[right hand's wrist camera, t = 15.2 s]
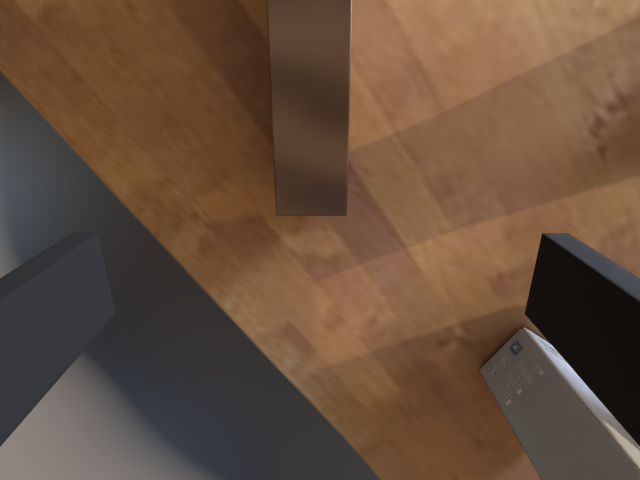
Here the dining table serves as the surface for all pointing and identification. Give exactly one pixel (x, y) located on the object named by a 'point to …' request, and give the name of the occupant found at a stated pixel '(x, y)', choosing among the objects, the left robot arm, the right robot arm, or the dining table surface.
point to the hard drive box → (558, 414)
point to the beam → (310, 104)
